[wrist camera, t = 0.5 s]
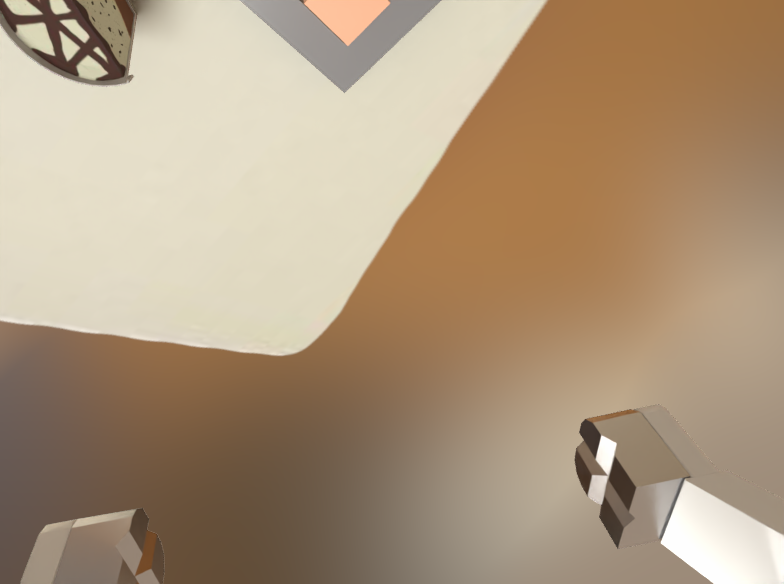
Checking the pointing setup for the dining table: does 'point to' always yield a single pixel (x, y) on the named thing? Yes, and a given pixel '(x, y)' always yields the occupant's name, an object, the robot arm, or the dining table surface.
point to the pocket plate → (325, 49)
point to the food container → (74, 37)
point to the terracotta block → (347, 15)
